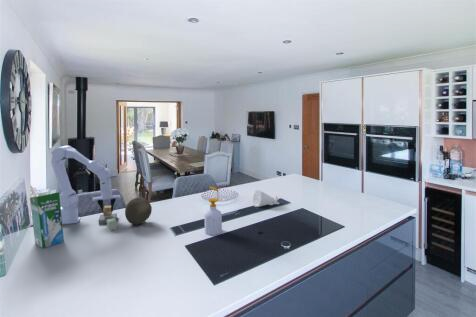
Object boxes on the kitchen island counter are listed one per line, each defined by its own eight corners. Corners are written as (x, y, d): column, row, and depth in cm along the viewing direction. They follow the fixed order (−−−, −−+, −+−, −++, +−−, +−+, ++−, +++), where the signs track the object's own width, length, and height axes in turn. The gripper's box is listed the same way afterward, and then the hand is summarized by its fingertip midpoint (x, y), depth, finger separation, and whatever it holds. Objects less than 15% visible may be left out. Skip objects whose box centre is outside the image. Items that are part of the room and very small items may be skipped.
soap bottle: (204, 228, 149) (204, 185, 145) (221, 228, 150) (221, 184, 146) (204, 235, 140) (203, 189, 136) (222, 235, 141) (221, 189, 137)
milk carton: (55, 236, 138) (50, 189, 134) (64, 241, 133) (59, 191, 129) (34, 243, 131) (29, 193, 127) (42, 248, 126) (37, 196, 122)
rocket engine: (281, 189, 193) (258, 186, 186) (285, 203, 186) (262, 201, 179) (273, 198, 201) (251, 196, 194) (277, 212, 193) (254, 210, 186)
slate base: (98, 224, 154) (98, 220, 154) (100, 219, 162) (100, 215, 162) (116, 222, 157) (115, 218, 157) (117, 217, 165) (116, 213, 165)
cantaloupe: (127, 230, 146) (125, 203, 144) (124, 221, 158) (123, 196, 156) (154, 225, 152) (153, 200, 150) (149, 217, 165) (148, 193, 162)
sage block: (109, 230, 146) (108, 221, 145) (107, 228, 149) (106, 219, 148) (116, 228, 148) (116, 220, 148) (114, 226, 151) (114, 218, 151)
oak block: (103, 216, 156) (103, 208, 156) (104, 214, 160) (103, 206, 159) (111, 215, 158) (110, 207, 157) (111, 213, 161) (111, 205, 161)
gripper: (90, 192, 151) (92, 215, 153) (119, 189, 156) (120, 212, 158) (92, 189, 157) (94, 211, 159) (119, 186, 162) (121, 208, 164)
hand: (107, 211), depth 159 cm, fingers closed on oak block, 4 cm apart
